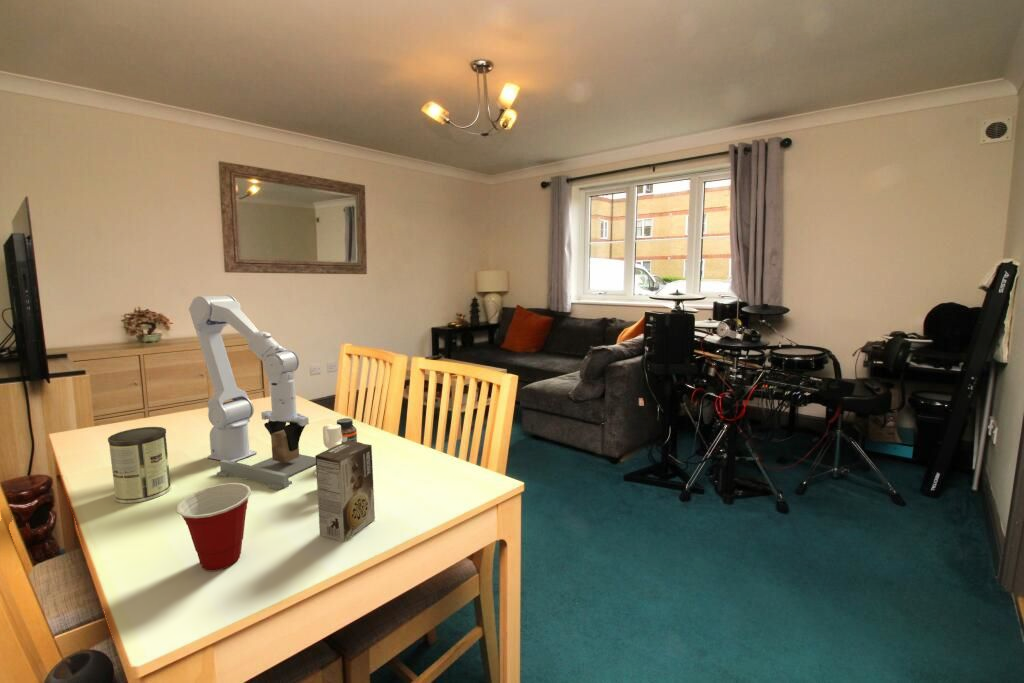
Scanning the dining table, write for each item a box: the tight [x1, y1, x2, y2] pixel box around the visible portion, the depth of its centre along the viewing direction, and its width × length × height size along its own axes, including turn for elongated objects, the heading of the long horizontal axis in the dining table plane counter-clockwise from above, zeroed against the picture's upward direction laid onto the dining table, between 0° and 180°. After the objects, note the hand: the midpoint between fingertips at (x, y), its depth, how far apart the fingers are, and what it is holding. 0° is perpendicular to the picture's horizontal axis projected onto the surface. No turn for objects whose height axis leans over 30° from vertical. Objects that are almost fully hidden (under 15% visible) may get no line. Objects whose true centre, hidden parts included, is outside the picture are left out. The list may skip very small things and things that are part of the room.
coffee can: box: [107, 426, 172, 504], centre depth 108 cm, size 10×10×14 cm
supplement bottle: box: [336, 417, 358, 443], centre depth 128 cm, size 6×6×11 cm
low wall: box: [216, 460, 293, 491], centre depth 117 cm, size 22×4×3 cm, turn 67°
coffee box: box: [314, 441, 376, 542], centre depth 94 cm, size 9×6×16 cm
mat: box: [251, 453, 316, 479], centre depth 126 cm, size 14×12×1 cm
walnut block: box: [270, 430, 300, 463], centre depth 125 cm, size 4×4×7 cm
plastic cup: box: [176, 482, 252, 572], centre depth 82 cm, size 11×11×12 cm
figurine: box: [314, 423, 342, 476], centre depth 111 cm, size 7×9×15 cm
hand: (286, 448), depth 125 cm, fingers closed on walnut block, 4 cm apart
